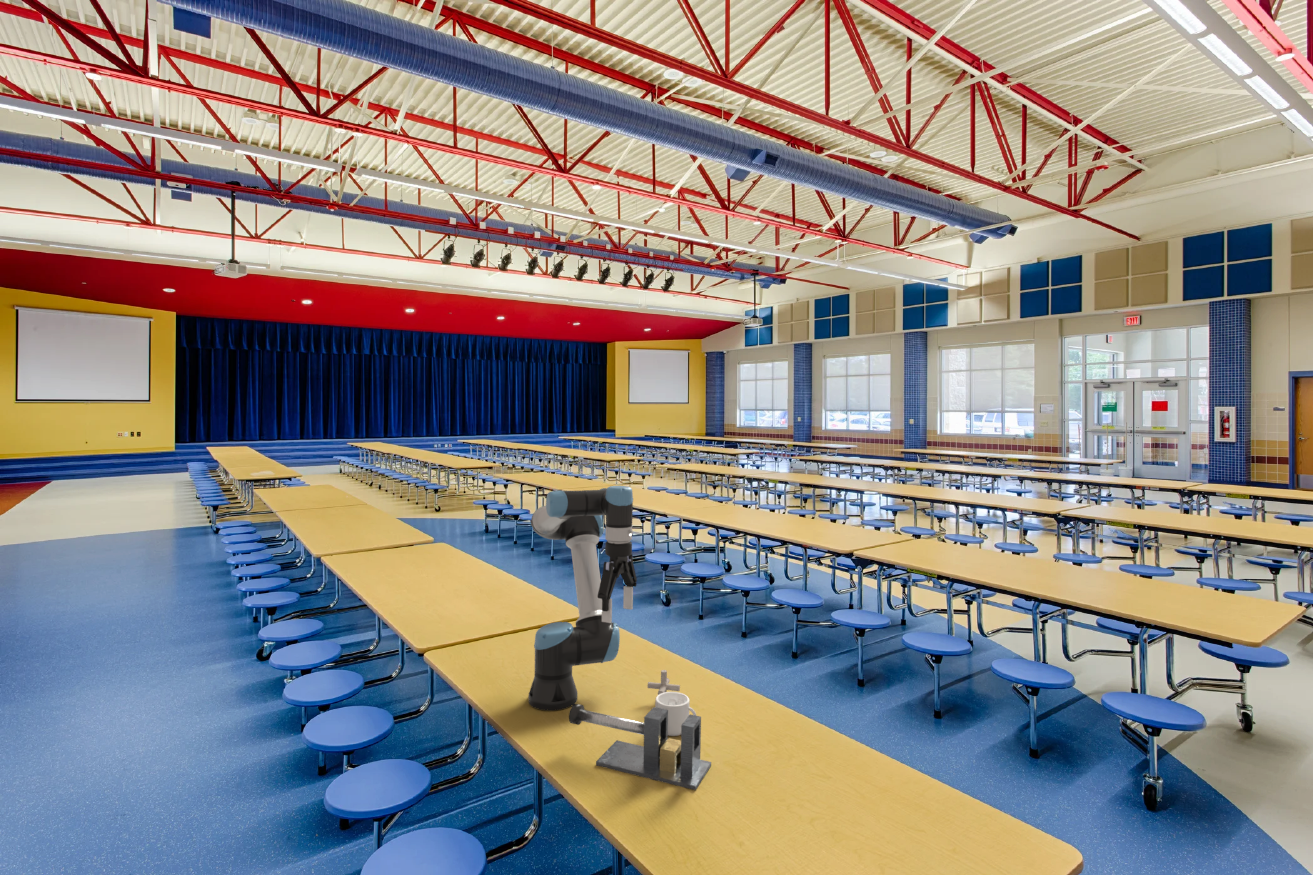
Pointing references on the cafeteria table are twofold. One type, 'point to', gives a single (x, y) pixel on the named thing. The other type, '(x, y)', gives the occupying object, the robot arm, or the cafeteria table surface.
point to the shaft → (604, 720)
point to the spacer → (670, 755)
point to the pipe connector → (663, 684)
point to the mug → (674, 710)
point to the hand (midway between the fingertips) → (617, 615)
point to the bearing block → (648, 756)
